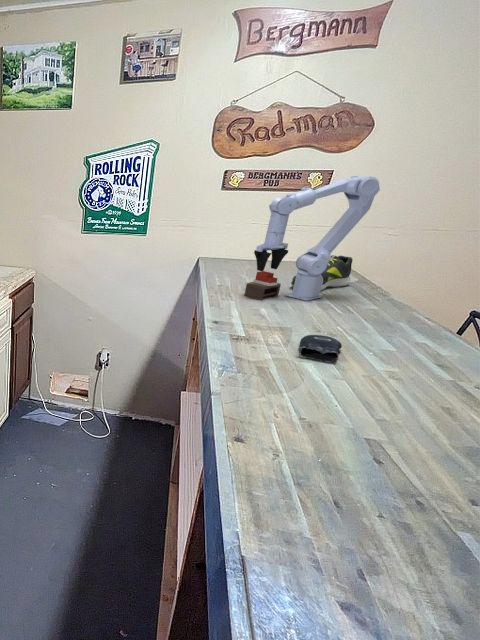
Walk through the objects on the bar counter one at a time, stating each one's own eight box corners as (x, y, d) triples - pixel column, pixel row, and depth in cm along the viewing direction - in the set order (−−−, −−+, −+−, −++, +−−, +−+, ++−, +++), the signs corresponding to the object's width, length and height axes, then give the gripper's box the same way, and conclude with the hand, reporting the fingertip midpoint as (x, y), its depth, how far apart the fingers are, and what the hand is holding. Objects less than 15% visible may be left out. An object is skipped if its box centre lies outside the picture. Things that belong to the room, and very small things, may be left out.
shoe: (253, 282, 175) (255, 271, 173) (260, 281, 176) (263, 270, 175) (269, 286, 169) (271, 275, 167) (276, 285, 170) (279, 274, 169)
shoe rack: (260, 292, 180) (263, 279, 178) (277, 296, 174) (281, 283, 172) (244, 295, 176) (246, 282, 174) (260, 300, 170) (263, 286, 168)
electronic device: (339, 369, 116) (341, 344, 126) (341, 350, 113) (344, 325, 124) (295, 365, 121) (301, 341, 132) (297, 347, 119) (303, 324, 129)
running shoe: (280, 287, 187) (288, 256, 182) (326, 279, 198) (334, 250, 193) (307, 293, 177) (315, 261, 172) (353, 285, 189) (362, 254, 184)
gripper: (272, 234, 158) (263, 273, 164) (299, 232, 164) (289, 270, 169) (254, 232, 164) (246, 269, 169) (281, 230, 170) (272, 266, 175)
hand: (267, 269), depth 170 cm, fingers open, 7 cm apart
